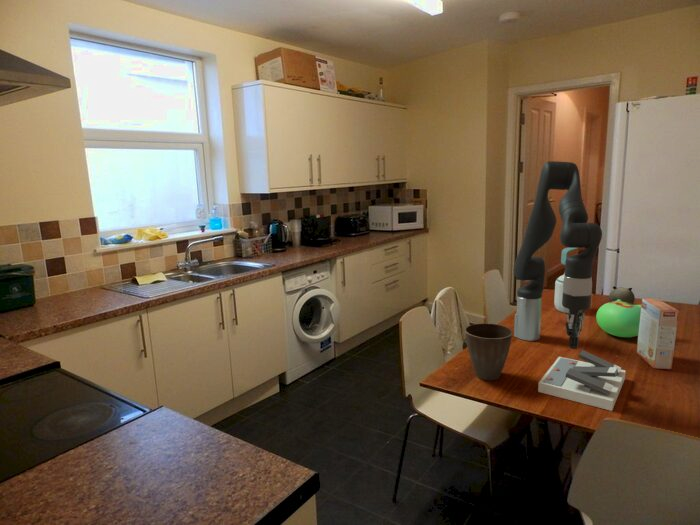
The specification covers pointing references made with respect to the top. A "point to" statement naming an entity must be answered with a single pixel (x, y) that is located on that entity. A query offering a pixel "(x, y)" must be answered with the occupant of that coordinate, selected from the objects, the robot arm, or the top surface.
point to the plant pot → (488, 348)
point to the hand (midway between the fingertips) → (573, 347)
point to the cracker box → (657, 333)
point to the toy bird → (619, 318)
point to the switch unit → (579, 385)
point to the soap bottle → (561, 284)
